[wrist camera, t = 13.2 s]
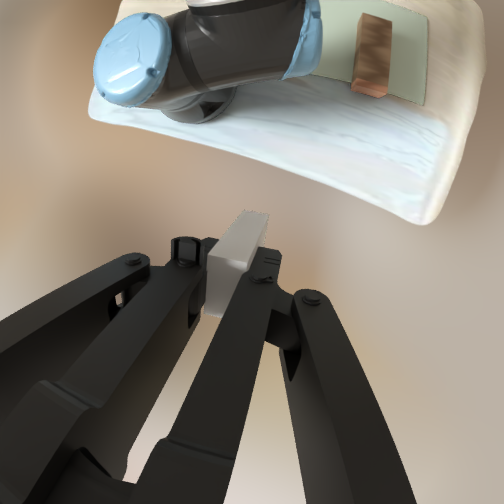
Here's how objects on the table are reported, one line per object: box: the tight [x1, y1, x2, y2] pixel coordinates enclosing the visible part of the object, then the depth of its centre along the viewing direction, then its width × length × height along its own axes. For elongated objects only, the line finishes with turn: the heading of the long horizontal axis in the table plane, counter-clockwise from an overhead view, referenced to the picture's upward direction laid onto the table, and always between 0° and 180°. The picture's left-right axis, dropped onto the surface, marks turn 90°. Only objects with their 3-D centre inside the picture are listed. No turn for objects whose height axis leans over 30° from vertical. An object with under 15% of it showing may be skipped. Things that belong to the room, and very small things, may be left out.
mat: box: [311, 0, 427, 106], centre depth 33 cm, size 22×20×1 cm
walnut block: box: [351, 13, 392, 98], centre depth 32 cm, size 5×5×14 cm
